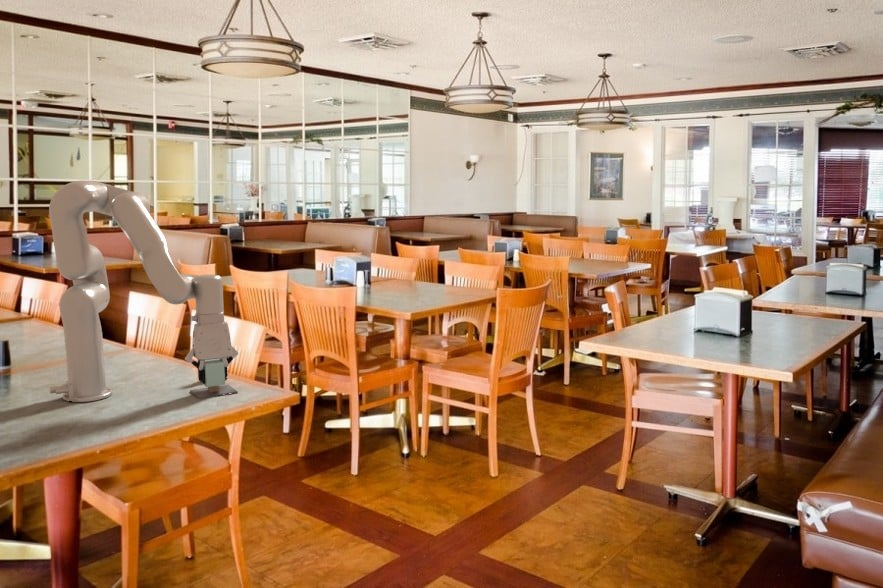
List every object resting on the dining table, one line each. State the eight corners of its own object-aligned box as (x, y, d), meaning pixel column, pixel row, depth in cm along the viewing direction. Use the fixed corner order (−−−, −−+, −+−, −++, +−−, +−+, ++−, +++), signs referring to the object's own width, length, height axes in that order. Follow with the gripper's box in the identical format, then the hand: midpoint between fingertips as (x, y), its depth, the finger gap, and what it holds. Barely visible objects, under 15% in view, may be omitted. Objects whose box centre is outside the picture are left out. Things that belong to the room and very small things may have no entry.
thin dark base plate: (198, 399, 211) (197, 374, 210) (190, 391, 218) (188, 367, 217) (237, 393, 217) (236, 369, 216) (228, 386, 224) (227, 363, 223)
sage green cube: (206, 387, 213) (205, 364, 213) (201, 383, 218) (200, 360, 217) (225, 384, 216) (224, 361, 215) (219, 380, 221) (218, 358, 220)
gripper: (182, 323, 207) (186, 388, 209) (244, 317, 216) (246, 380, 218) (175, 319, 213) (179, 382, 216) (236, 314, 222) (238, 374, 225)
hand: (213, 380), depth 217 cm, fingers closed on sage green cube, 5 cm apart
